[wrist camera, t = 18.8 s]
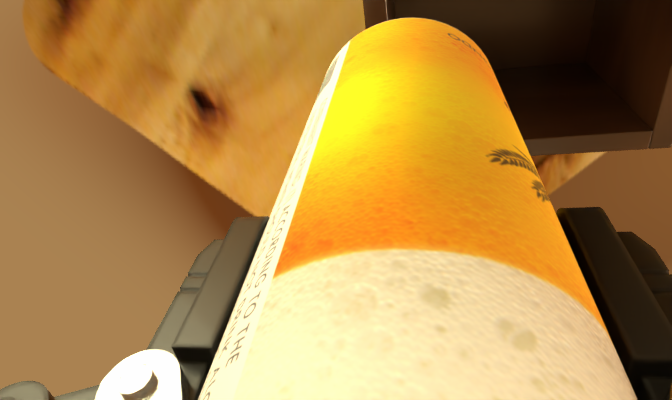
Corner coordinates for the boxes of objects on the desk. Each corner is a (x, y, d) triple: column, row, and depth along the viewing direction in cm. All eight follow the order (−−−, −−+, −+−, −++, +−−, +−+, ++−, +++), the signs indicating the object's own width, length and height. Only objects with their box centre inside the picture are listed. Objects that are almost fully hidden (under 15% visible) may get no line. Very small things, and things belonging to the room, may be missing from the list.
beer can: (450, 187, 19) (534, 767, 7) (307, 143, 18) (117, 671, 6) (526, 43, 15) (1010, 734, 3) (350, -14, 15) (96, 510, 3)
